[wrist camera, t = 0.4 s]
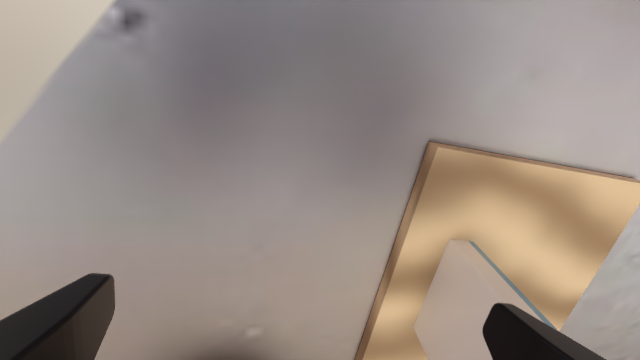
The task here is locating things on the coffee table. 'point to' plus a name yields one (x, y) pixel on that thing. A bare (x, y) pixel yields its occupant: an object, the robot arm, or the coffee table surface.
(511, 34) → the coffee table surface
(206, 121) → the coffee table surface
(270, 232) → the coffee table surface
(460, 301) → the tile
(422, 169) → the board
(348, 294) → the coffee table surface
